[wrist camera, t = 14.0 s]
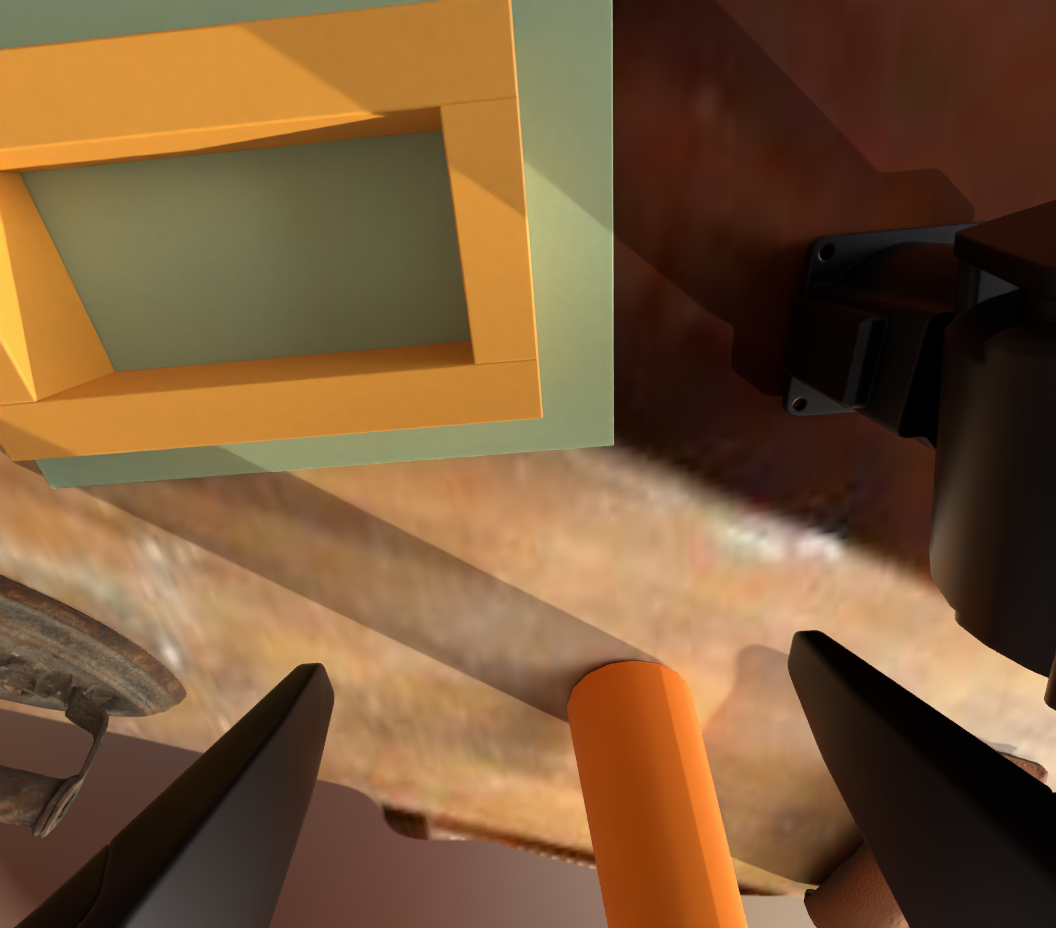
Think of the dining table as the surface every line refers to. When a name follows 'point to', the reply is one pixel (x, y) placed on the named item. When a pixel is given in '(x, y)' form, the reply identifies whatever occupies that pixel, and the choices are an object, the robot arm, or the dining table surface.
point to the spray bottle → (651, 801)
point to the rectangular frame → (253, 123)
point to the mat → (337, 244)
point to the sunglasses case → (869, 886)
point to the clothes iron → (68, 690)
